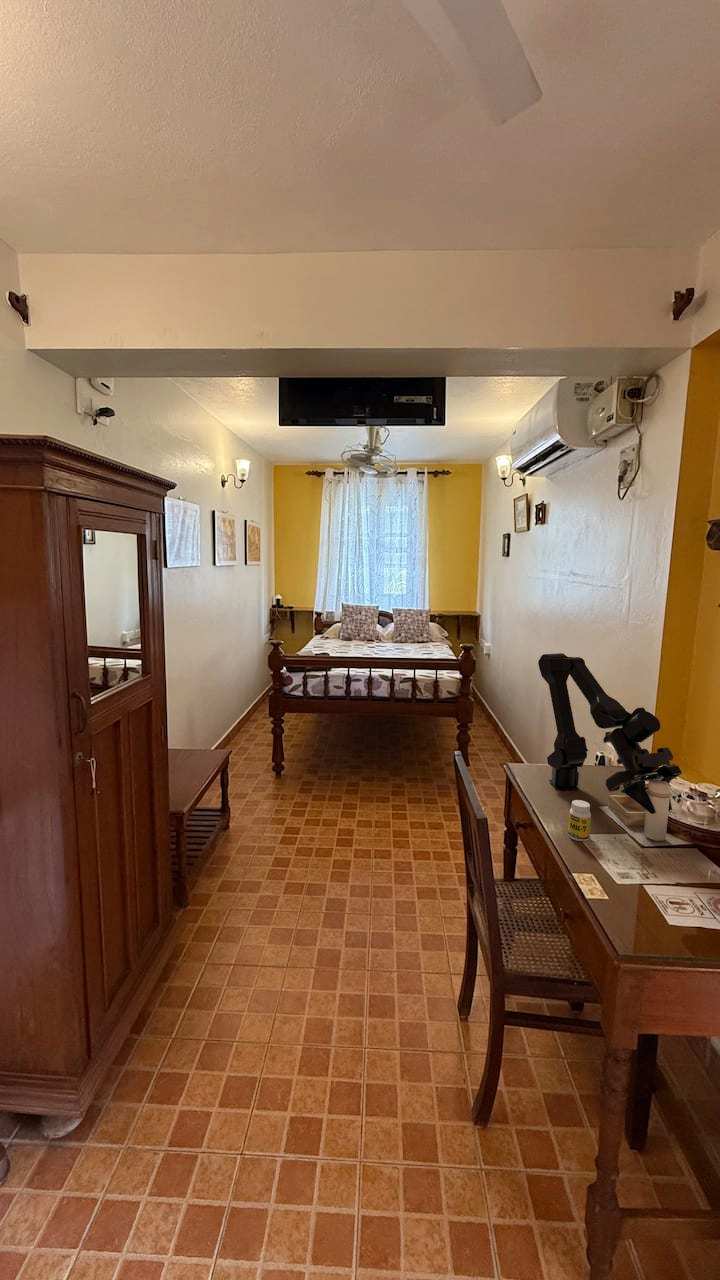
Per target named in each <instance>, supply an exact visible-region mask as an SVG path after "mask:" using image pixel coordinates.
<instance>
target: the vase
mask: <svg viewBox="0 0 720 1280" xmlns="http://www.w3.org/2000/svg"><path fill="white" fill-rule="evenodd" d="M671 788H672V785H671V783H667V782H664V781H661V780H649V781H648V786H647V790H646V792H647V794H648V796H649V798H650V800H651V802H652V804H653V806H654V809H655V812H656V813H654V814H651V813H650V812H648V811H647V810H646V814H645V825H644V826H643V835H644V837H646V838H647V839H650V840H653V841H659V842H660V841H665V840H666V838H667V837H666V836H667V829H668V828H667V827H668V823H667V820H669V811H668V810H669V800H671Z"/></svg>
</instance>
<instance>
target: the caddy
mask: <svg viewBox="0 0 720 1280" xmlns="http://www.w3.org/2000/svg"><path fill="white" fill-rule="evenodd" d="M607 809H608V810H610V812H612V814H613V815H614V816H615V817H616V818H617V819H618V820H619V821H620V822H621V823H622V824H623V825H624V826H625V827H644V825H645V814H646V809H645V808H644V807H642V806H641V805H640V804H639V803H637V802H636V801H635V800H634V799H632V798H631V797H629V796H628V795H618V794H617V795H614V794H613V795H611V794H609V795H608V801H607ZM668 820H669V819H668ZM668 820H667V824H668Z"/></svg>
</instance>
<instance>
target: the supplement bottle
mask: <svg viewBox="0 0 720 1280" xmlns="http://www.w3.org/2000/svg"><path fill="white" fill-rule="evenodd" d="M590 810H591V805H590V803H589V802H587V801H585V800H581V799H575V800H572V802H571V808H570V809H569V813H568V829H567V836H568V837H569V838H570V839H572V840H573V841H578V842H586V841H588V840H589V839H590V834H591V833H590V831H591V819H592V814H591V813H592V812H591V811H590Z"/></svg>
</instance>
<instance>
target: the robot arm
mask: <svg viewBox="0 0 720 1280" xmlns="http://www.w3.org/2000/svg"><path fill="white" fill-rule="evenodd" d="M537 662H538V663H537V665H538V669H539V671H540V672H539V673H540V675H541V677H542V679H543V680H544V681H545V682H546V683H547V685H548V689H549V694H550V698H551V704H552V709H553V710H552V711H553V715H554V721H555V726H556V727H555V728H556V731H557V732H556V734H557V735H556V737H555V740H554V742H553V748H554V749H553V752H552V753H550V754H549V755H548V756H547V757H546V759H547V765H548V766H550V767H551V779H549V781H550V782H549V783H550V784H551V786H554V787H553V788H554V789H555V790H556V791H579V781H580V779H579V777H580V773H579V771H578V770H579V769H578V768H582V767H583V765H584V763H585V761H586V759H587V758H588V752H589V749H588V748H587V742H586V741H587V740H586V738H585V737H584V736H580V735H579V733H578V732H577V731H576V730H577V729H576V726H575V720H574V715H573V710H572V709H573V708H572V705H571V699H570V695H569V689H568V684H567V683H568V679H569V676H570V677H571V679H572V680H573V682H574V683H575V685H576V686H577V688H578V689H579V690H580V692H581V693H582V696H584V698H585V699H586V701H587V702H588V705H589V713H590V715H591V718H592V719H593V721H594V723H595V725H596V726H597V728H599V729H602V730H603V729H607V730H608V729H613V730H612V731H605V732H604V734H605V735H604V737H603V740H602V741H603V743H604V744H606V743H611V746H612V748H613V749H614V751H615V753H616V755H617V756H618V759H617V760H616V762H617V764H618V765H622V766H623V768H624V770H623V771H617V772H615V773H614V774H612V775H611V776H609V777H608V778H606V779H605V780H606V781H605V786H606V788H607V790H608V792H609V793H611V792H617V791H620V789H621V785H622V787H623V789H622V790H621V791H620V792H621V793H622V794H625V795H626V796H629V797H631V798H632V799H634V800H635V801H636V802H637V803H639V804H640V805H641V806H642V807H644V808H645V809H646V810H647V811H648V812H650V813H651V814H654V813H656V812H655V809H654V806H653V804H652V802H651V800H650V798H649V796H648V792H647V790H646V782H647V781H648V782H649V781H650V780H661V781H664V782H667V783H669V784H671V783H670V782H671V781H672V780H675V778H678V777H679V776H681V775H683V772H682V770H681V769H680V767H679V765H678V764H675V763H671V761H673V759H674V755H673V753H672V751H671V749H670V748H669V747H668V746H666V747H665V746H664V747H659V748H657V749H656V751H657V752H653V753H652V752H651V753H650V752H649V750H648V749H647V748H642V747H641V745H640V743H643V742H645V741H646V740H647V739H648V738H650V737H652V736H653V735H654V734H656V733H657V732H659V731H660V729H661V722H660V720H659V719H658V717H656V715H654V714H653V713H651V712H650V711H647V710H646V709H645V707H643V706H642V707H641V706H640V707H636V708H635V709H634V710H633V711H632V713H631V712H629V711H627V710H626V708H625V707H624V706H623V705H622V704H621V703H620V702H619V701H618V700H617V699H615V698H613V697H611V696H610V695H608V693H606V691H605V690H604V689H603V688H602V686H601V684H599V683H600V682H598V680H597V679H596V678H595V676H594V675H593V674H592V672H591V671H590V669H589V668H588V666H587V665H586V661H585V659H584V658H582V657H579V656H567V655H566V654H565V653H561V652H559V653H543V654H542V655H541V656H540V658H538V661H537ZM672 810H673V806H672V800H671V799H670V800H669V810H668V812H670V811H672Z"/></svg>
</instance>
